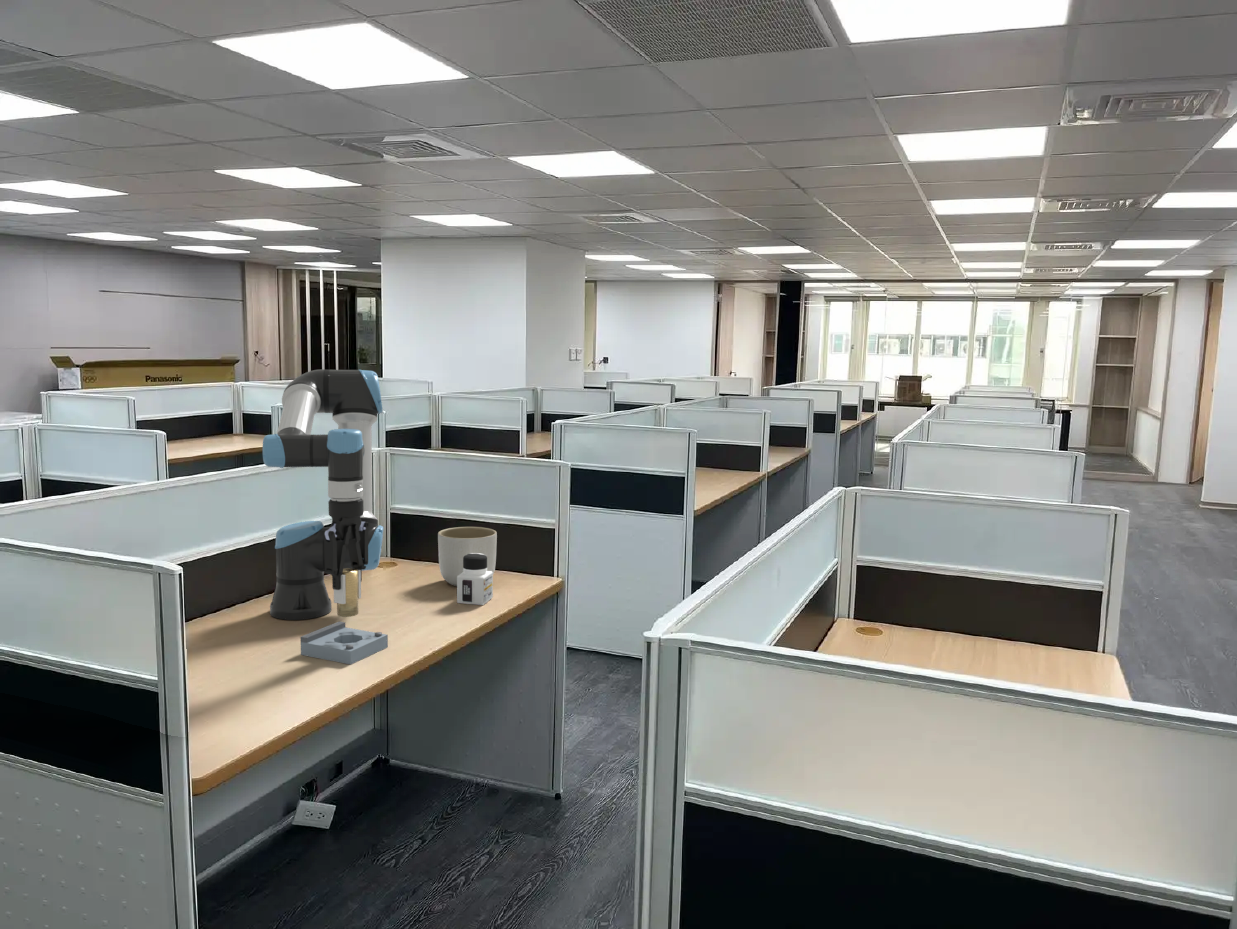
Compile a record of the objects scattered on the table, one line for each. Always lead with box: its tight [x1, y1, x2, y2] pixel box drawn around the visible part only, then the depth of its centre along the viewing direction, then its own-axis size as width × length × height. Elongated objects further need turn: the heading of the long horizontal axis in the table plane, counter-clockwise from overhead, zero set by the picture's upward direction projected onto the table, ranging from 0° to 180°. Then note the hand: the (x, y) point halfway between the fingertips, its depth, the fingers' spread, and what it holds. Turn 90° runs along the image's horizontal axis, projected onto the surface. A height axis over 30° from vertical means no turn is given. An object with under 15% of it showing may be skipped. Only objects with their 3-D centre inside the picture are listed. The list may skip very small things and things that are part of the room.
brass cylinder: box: [336, 568, 359, 618], centre depth 209 cm, size 5×5×10 cm
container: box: [456, 553, 494, 606], centre depth 253 cm, size 8×8×13 cm
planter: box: [437, 526, 498, 587], centre depth 272 cm, size 17×17×15 cm
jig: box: [300, 621, 389, 665], centre depth 211 cm, size 14×13×4 cm
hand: (347, 600), depth 209 cm, fingers closed on brass cylinder, 4 cm apart
